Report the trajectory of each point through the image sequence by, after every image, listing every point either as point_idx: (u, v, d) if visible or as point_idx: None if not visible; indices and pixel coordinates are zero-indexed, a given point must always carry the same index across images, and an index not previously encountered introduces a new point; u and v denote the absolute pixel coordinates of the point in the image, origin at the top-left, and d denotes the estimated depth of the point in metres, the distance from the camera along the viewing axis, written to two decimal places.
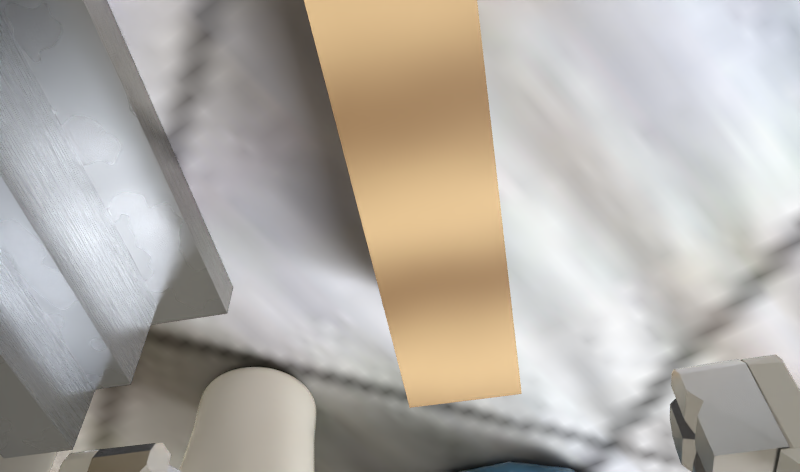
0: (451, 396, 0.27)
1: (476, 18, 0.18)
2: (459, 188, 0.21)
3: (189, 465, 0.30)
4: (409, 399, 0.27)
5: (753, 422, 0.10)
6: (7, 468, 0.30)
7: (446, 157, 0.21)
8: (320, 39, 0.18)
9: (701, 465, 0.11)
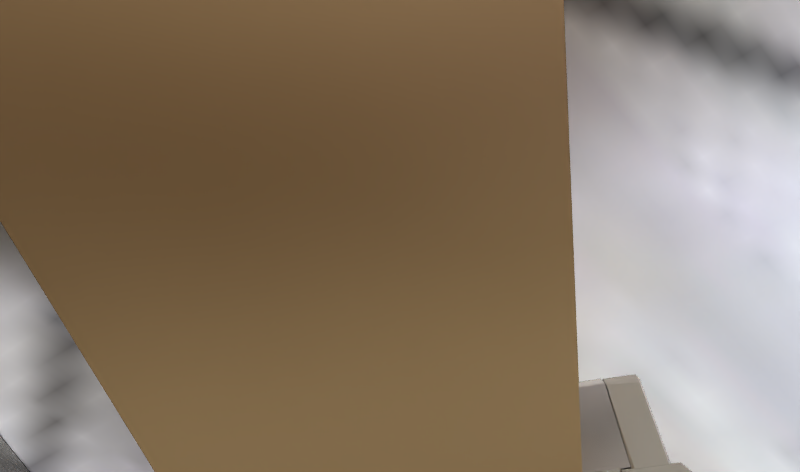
0: None
1: None
2: None
3: None
4: None
5: (601, 442, 0.10)
6: None
7: None
8: None
9: None
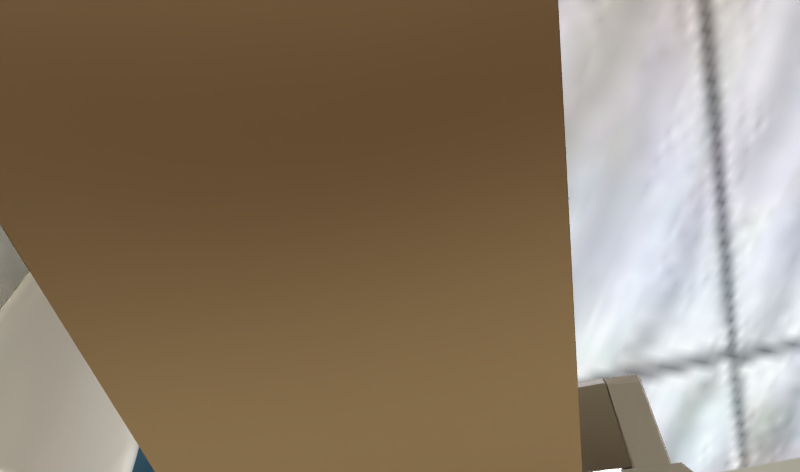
0: None
1: None
2: None
3: None
4: None
5: (602, 442, 0.10)
6: None
7: None
8: None
9: None
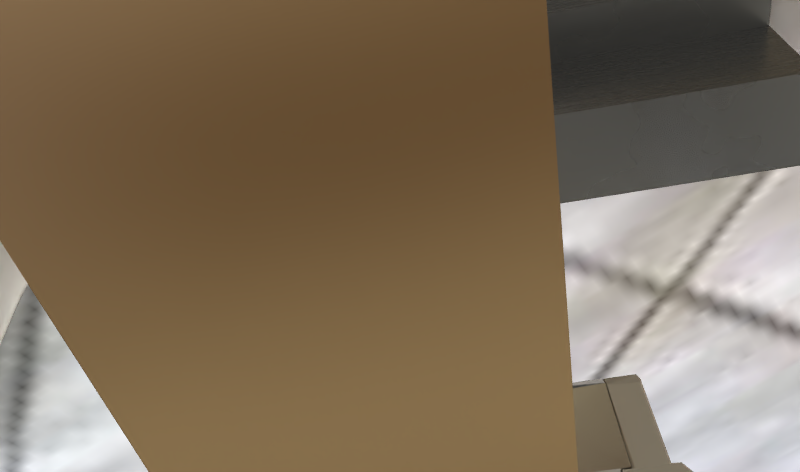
0: None
1: None
2: None
3: None
4: None
5: (602, 442, 0.10)
6: None
7: None
8: None
9: None
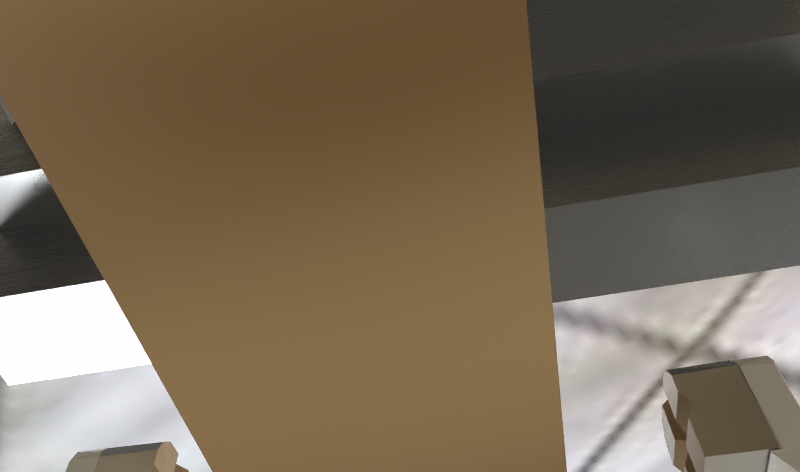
0: None
1: None
2: None
3: None
4: None
5: (744, 424, 0.10)
6: None
7: None
8: None
9: (693, 466, 0.11)
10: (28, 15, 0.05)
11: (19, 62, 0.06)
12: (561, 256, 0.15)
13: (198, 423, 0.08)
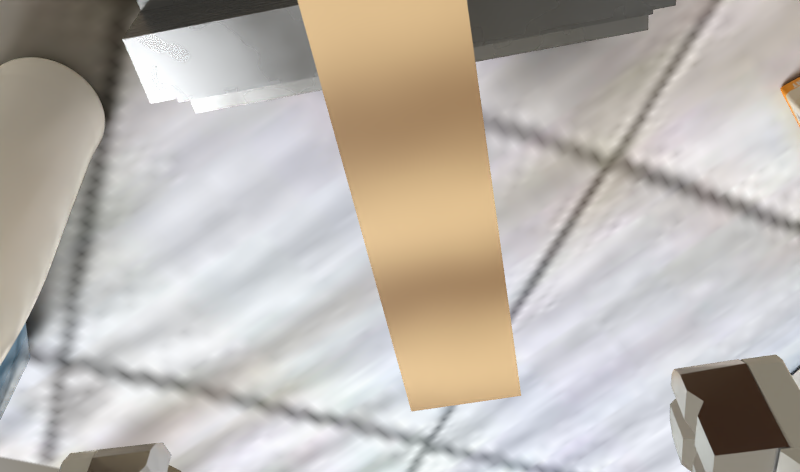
0: (452, 398, 0.27)
1: (468, 29, 0.19)
2: (455, 193, 0.22)
3: (46, 122, 0.30)
4: (411, 403, 0.27)
5: (753, 422, 0.10)
6: None
7: (441, 164, 0.21)
8: (318, 52, 0.19)
9: (701, 465, 0.11)
10: None
11: None
12: (490, 5, 0.25)
13: None
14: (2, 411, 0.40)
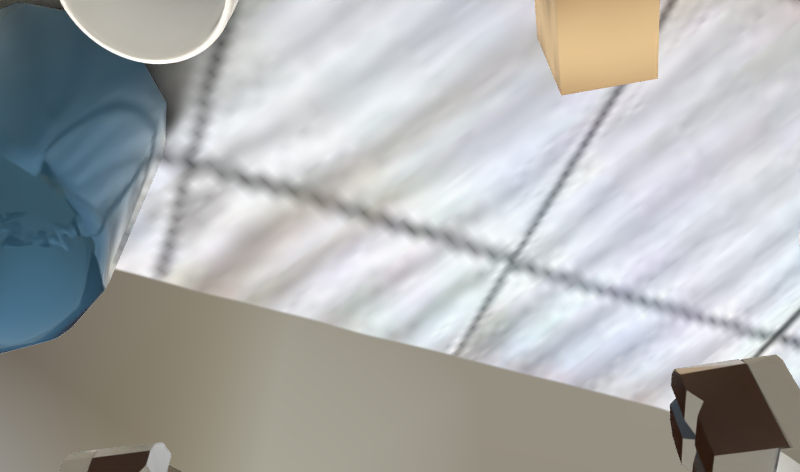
0: (599, 81, 0.32)
1: None
2: None
3: None
4: (562, 85, 0.32)
5: (753, 422, 0.10)
6: None
7: None
8: None
9: (701, 465, 0.11)
10: None
11: None
12: None
13: None
14: (149, 183, 0.45)
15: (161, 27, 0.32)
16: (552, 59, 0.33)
